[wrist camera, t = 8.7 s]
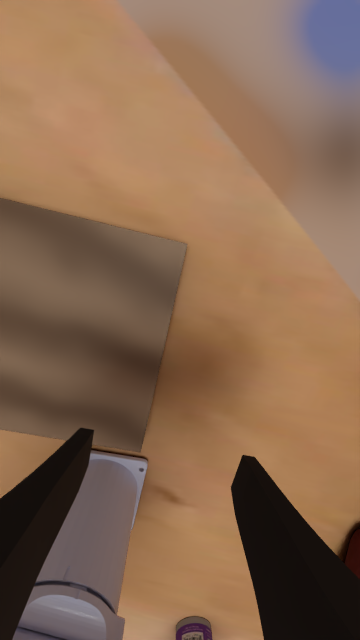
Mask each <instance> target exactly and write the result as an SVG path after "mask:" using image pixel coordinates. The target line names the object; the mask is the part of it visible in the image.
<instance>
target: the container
mask: <svg viewBox="0 0 360 640" xmlns="http://www.w3.org/2000/svg"><path fill="white" fill-rule="evenodd" d="M176 640H212V632H211V625H210V623H209V622H208V621H207V620H206V619H204V618H201V617H188V618H185V619H183V620H181V621H180V622H179V623H178V624H177V626H176Z"/></svg>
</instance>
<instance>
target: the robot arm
mask: <svg viewBox="0 0 360 640" xmlns="http://www.w3.org/2000/svg"><path fill="white" fill-rule="evenodd" d="M93 435H94V430H92V429H86V428H79V429H78V430H77V431H76V432H75V433H74V434H73V435H72V436H71V437H70V438H69V439H68V440H67V441H66V442H65V443H64V444H63V445H62V446H61V447H60V448H59V449H58V450H57V451H56V452H55V453H54V454H53V455H51V456H50V457H49V458H48V459H47V460H46V461H45V462H44V463H43V464H42V465H40V466H39V467H38V468H37V469H36V470H35V471H34V472H32V473H31V474H30V475H29V476H28V477H26V478H25V479H24V480H23V481H22V482H20V483H19V484H18V485H17V486H16V487H14V488H13V489H12V490H11V491H9V492H8V493H7V494H6V495H4V496H3V497H2V498H0V640H122V639H123V631H124V624H125V619H124V618H122V617H119V616H117V612H118V606H119V600H120V593H121V587H122V581H123V575H124V569H125V563H126V557H127V551H128V545H129V539H130V533H131V530H132V529H133V525H134V520H135V516H136V512H137V508H138V504H139V499H140V495H141V491H142V487H143V483H144V478H145V474H146V470H147V465H148V461H147V460H146V459H143V458H136V457H130V456H124V455H118V454H112V453H105V452H99V451H93V450H91V447H92V441H93ZM231 491H232V498H233V505H234V511H235V516H236V520H237V524H238V528H239V532H240V536H241V540H242V544H243V548H244V551H245V555H246V559H247V563H248V567H249V571H250V575H251V579H252V582H253V586H254V591H255V595H256V600H257V604H258V609H259V615H260V620H261V625H262V631H263V636H264V640H360V579H359V578H358V577H357V576H356V575H355V574H354V573H353V572H352V571H351V570H350V569H349V568H348V567H347V566H346V565H345V564H344V563H343V562H342V561H341V560H340V558H339V557H338V556H337V555H336V554H335V553H334V552H333V551H332V550H331V549H330V548H329V547H328V546H327V545H326V544H325V542H324V541H323V540H322V539H321V538H320V537H319V536H318V535H317V534H316V532H315V531H314V530H313V529H312V528H311V527H310V525H309V524H308V523H307V522H306V521H305V520H304V518H303V517H302V516H301V515H300V514H299V512H298V511H297V510H296V509H295V508H294V506H293V505H292V504H291V503H290V501H289V500H288V499H287V498H286V496H285V495H284V494H283V493H282V491H281V490H280V489H279V488H278V486H277V485H276V484H275V482H274V481H273V480H272V479H271V477H270V476H269V475H268V473H267V472H266V471H265V469H264V468H263V467H262V466H261V464H260V463H259V462H258V461H257V459H256V458H255V457H252V456H246V455H242V458H241V461H240V464H239V466H238V469H237V472H236V475H235V478H234V480H233V483H232V486H231Z"/></svg>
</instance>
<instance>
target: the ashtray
mask: <svg viewBox="0 0 360 640" xmlns="http://www.w3.org/2000/svg"><path fill="white" fill-rule="evenodd" d="M345 565H346V566H347V567H348V568H349V569H350V570H351V571H352V572H353V573H354V574H355V575H356V576H357V577H358V578H359V579H360V528H359V529H358V530H356V531H355V532H354V534H353V536H352V538H351V539H350V543H349V547H348V551H347V555H346V559H345Z"/></svg>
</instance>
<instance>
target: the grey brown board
mask: <svg viewBox="0 0 360 640" xmlns="http://www.w3.org/2000/svg"><path fill="white" fill-rule="evenodd" d="M186 248H187V244H186V243H182V242H177V241H173V240H169V239H165V238H161V237H157V236H153V235H149V234H145V233H141V232H137V231H133V230H129V229H125V228H120V227H116V226H112V225H108V224H104V223H100V222H96V221H92V220H88V219H84V218H80V217H76V216H72V215H68V214H63V213H59V212H55V211H51V210H47V209H43V208H39V207H35V206H31V205H27V204H23V203H19V202H15V201H11V200H7V199H2V198H0V430H6V431H13V432H19V433H25V434H31V435H37V436H43V437H49V438H55V439H61V440H68V439H69V438H70V437H71V436H72V435H73V434H74V433H75V432H76V431H77V430H78V429H79V428H86V429H92V430H94V435H93V441H92V445H98V446H104V447H110V448H116V449H123V450H129V451H135V452H141V449H142V444H143V440H144V435H145V431H146V426H147V422H148V417H149V413H150V409H151V404H152V400H153V395H154V391H155V386H156V382H157V377H158V373H159V368H160V364H161V360H162V355H163V351H164V346H165V342H166V337H167V333H168V328H169V324H170V319H171V315H172V311H173V306H174V302H175V297H176V293H177V288H178V284H179V279H180V275H181V270H182V266H183V261H184V257H185V253H186Z"/></svg>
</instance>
